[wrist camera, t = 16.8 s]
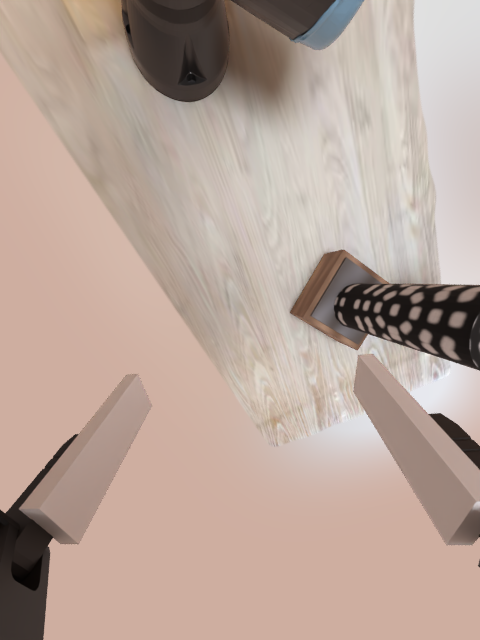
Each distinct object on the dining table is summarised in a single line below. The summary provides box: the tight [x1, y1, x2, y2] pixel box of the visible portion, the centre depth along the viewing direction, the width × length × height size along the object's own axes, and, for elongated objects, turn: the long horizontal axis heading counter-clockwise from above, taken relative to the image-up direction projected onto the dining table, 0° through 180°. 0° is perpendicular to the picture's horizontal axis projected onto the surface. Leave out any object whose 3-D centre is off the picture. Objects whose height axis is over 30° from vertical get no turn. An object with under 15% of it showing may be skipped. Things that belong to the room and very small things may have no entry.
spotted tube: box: [334, 283, 480, 370], centre depth 29 cm, size 8×8×20 cm
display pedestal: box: [290, 250, 389, 350], centre depth 41 cm, size 14×14×6 cm
